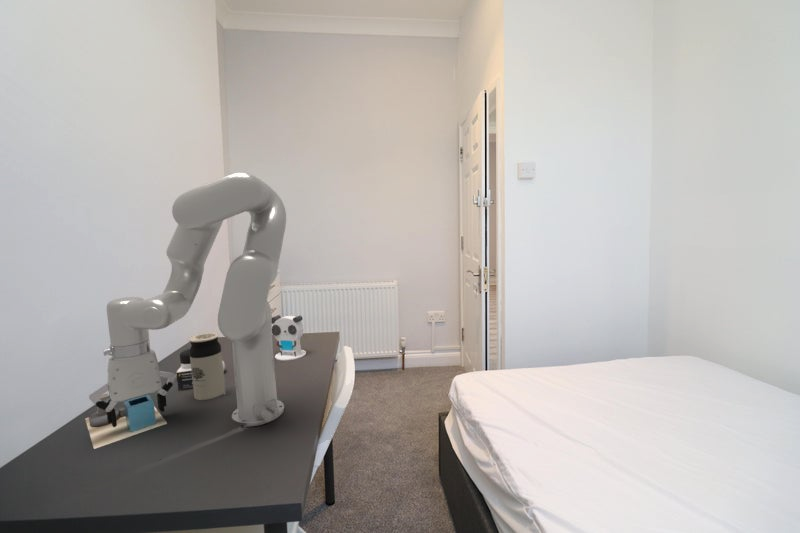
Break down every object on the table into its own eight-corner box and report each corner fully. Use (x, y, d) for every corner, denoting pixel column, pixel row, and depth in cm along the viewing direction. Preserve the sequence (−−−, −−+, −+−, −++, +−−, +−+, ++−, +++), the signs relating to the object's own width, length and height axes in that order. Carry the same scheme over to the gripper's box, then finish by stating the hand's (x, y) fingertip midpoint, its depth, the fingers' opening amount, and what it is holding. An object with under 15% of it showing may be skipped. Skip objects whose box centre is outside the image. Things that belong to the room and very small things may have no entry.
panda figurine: (267, 359, 137) (263, 319, 136) (285, 349, 148) (282, 312, 147) (295, 361, 134) (292, 320, 132) (311, 350, 145) (308, 313, 143)
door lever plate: (167, 427, 91) (164, 397, 90) (94, 454, 82) (89, 420, 81) (149, 403, 106) (146, 376, 105) (85, 422, 96) (81, 394, 95)
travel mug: (215, 389, 113) (209, 331, 111) (231, 394, 109) (225, 334, 107) (189, 400, 106) (182, 338, 104) (205, 406, 102) (198, 342, 100)
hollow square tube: (156, 423, 91) (153, 400, 91) (130, 432, 88) (127, 408, 87) (151, 416, 95) (148, 394, 94) (126, 424, 91) (123, 401, 91)
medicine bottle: (178, 394, 110) (174, 355, 109) (185, 385, 117) (181, 348, 116) (205, 390, 112) (200, 352, 111) (210, 381, 119) (206, 345, 118)
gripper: (85, 362, 80) (95, 437, 82) (176, 343, 93) (182, 409, 94) (82, 355, 86) (91, 425, 88) (168, 338, 98) (174, 400, 100)
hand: (138, 417), depth 91 cm, fingers open, 9 cm apart
